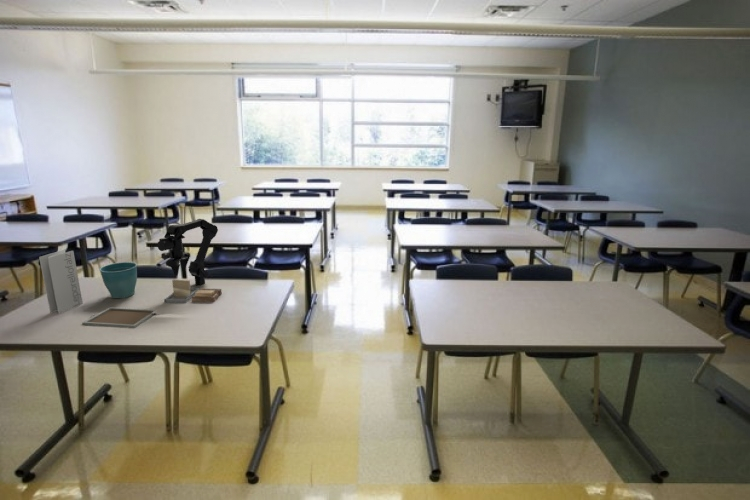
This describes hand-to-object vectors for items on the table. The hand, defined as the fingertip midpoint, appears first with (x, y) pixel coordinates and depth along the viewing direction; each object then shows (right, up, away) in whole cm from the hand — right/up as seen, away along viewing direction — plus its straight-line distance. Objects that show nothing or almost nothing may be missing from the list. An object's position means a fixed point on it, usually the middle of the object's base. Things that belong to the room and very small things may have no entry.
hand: (180, 273), depth 246 cm
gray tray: (+4, -14, -6) cm, 16 cm away
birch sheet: (+4, -13, -6) cm, 15 cm away
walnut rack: (+19, -15, -7) cm, 25 cm away
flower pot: (-32, -13, -2) cm, 35 cm away
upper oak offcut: (+19, -12, -11) cm, 25 cm away
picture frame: (-16, -22, -32) cm, 41 cm away
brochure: (-50, -18, -21) cm, 57 cm away
